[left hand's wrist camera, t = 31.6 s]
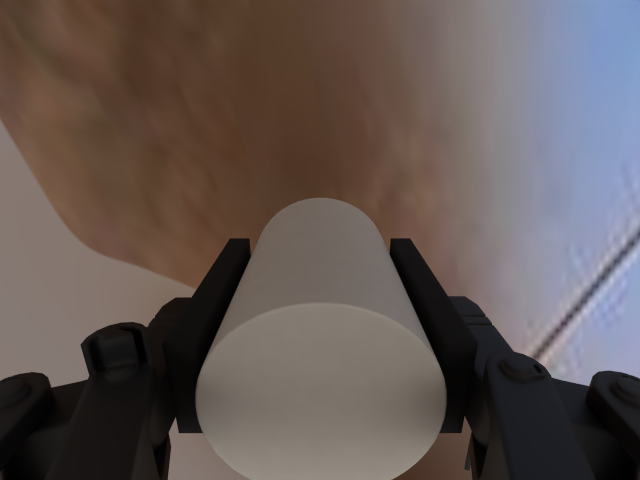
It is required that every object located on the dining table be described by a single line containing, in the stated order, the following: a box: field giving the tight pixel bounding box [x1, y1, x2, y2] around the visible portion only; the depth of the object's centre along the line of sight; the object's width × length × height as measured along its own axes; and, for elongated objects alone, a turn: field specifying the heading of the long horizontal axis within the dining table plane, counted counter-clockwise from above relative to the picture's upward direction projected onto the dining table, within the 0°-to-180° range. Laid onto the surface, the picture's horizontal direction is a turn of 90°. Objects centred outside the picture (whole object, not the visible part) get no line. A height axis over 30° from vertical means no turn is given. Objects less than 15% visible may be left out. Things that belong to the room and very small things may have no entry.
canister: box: [195, 198, 447, 480], centre depth 12 cm, size 6×6×8 cm
